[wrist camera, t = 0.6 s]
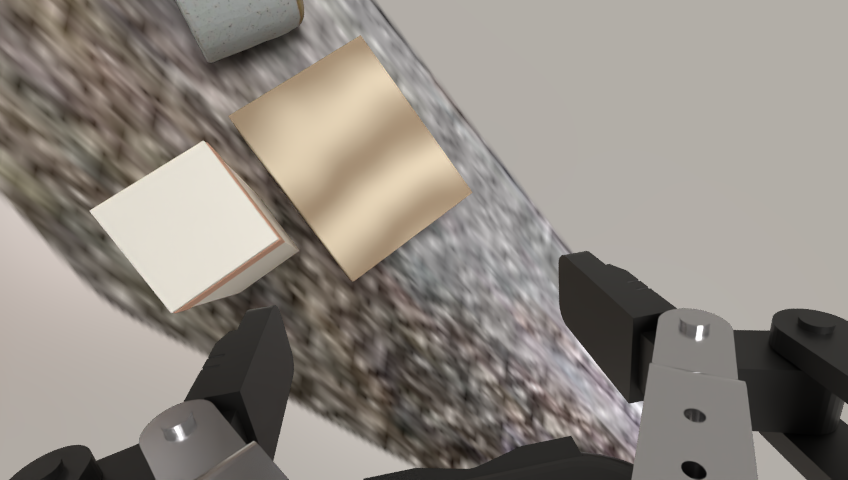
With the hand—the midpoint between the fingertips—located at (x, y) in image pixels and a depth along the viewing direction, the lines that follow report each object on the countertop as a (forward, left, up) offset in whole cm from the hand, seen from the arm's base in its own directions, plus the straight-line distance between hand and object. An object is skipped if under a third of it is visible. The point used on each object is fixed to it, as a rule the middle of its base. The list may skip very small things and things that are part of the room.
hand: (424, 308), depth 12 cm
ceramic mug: (-24, +5, -24) cm, 34 cm away
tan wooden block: (-8, +5, -24) cm, 26 cm away
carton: (-8, -5, -24) cm, 26 cm away
